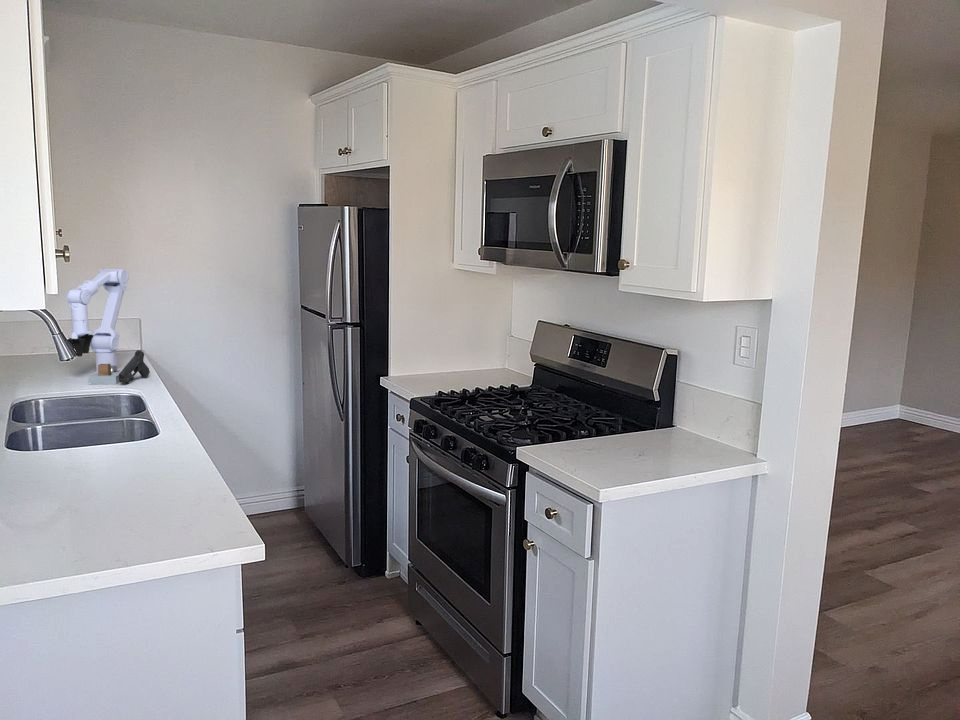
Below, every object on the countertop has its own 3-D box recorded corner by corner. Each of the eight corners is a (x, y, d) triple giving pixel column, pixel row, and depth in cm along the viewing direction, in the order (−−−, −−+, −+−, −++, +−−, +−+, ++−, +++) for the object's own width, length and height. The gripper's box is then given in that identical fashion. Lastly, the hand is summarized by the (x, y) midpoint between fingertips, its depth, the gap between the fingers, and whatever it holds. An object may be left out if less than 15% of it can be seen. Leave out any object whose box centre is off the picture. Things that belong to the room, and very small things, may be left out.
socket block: (96, 380, 298) (95, 372, 297) (123, 379, 299) (122, 372, 299) (88, 384, 289) (87, 376, 288) (116, 384, 290) (115, 376, 290)
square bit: (101, 381, 295) (100, 363, 294) (111, 381, 296) (110, 363, 295) (98, 383, 292) (97, 365, 291) (108, 383, 293) (107, 365, 291)
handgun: (151, 372, 307) (142, 348, 300) (130, 398, 292) (121, 372, 286) (145, 372, 307) (137, 347, 300) (125, 398, 293) (116, 372, 286)
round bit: (107, 377, 303) (106, 365, 302) (119, 377, 304) (118, 365, 303) (104, 379, 299) (103, 367, 298) (116, 379, 299) (115, 367, 299)
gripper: (84, 322, 288) (86, 357, 290) (96, 318, 302) (99, 351, 304) (64, 322, 287) (67, 357, 289) (77, 318, 301) (80, 351, 303)
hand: (82, 354), depth 297 cm, fingers open, 7 cm apart
